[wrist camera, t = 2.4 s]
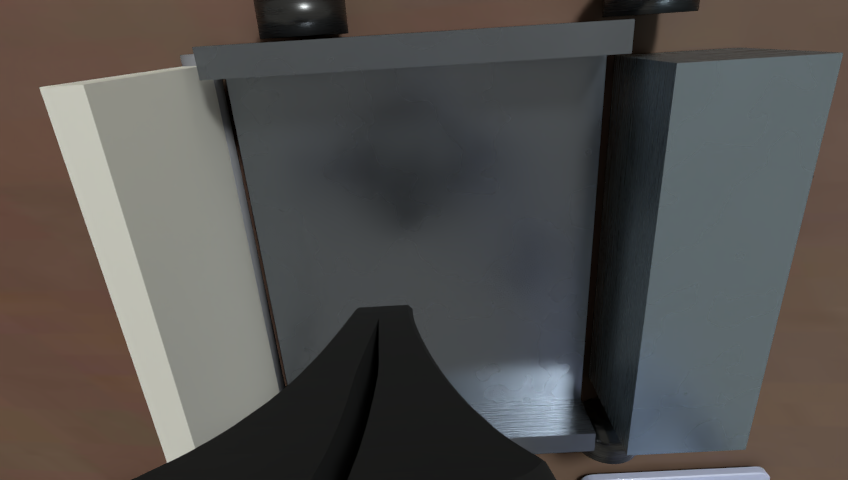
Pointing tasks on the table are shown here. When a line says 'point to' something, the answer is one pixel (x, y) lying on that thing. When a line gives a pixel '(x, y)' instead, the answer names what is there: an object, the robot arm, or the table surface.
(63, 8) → the table surface
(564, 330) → the grey piece
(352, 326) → the robot arm
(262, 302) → the panel
